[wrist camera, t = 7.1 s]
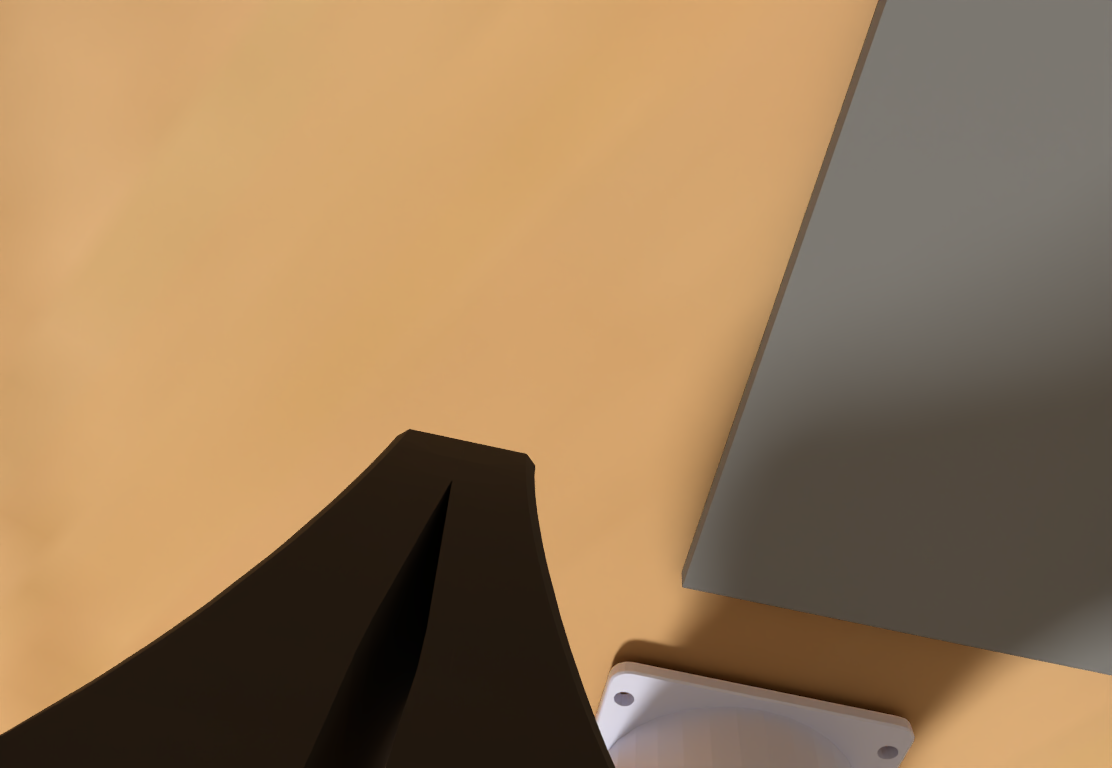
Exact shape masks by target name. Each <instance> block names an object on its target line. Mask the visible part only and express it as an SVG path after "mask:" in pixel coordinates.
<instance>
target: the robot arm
mask: <svg viewBox="0 0 1112 768" xmlns="http://www.w3.org/2000/svg"><path fill="white" fill-rule="evenodd" d="M534 474H535V465H534V463H533V462H532V461H531V459H530V458H529V456H528V455H527V454H524V453H520V452H515V451H510V450H505V449H501V448H496V447H491V446H487V445H482V444H477V443H472V442H468V441H463V440H458V439H454V438H449V437H444V436H440V435H435V434H430V433H425V432H421V431H416V430H411V429H409V430H407V431H405V432H404V433H402V434H400V435H398V436H397V437H396V438H395V439H394V440H393V441H392V442H391V444H390V445H389V446H388V447H387V448H386V449H385V450H384V451H383V452H382V453H381V454H380V455H379V456H378V457H377V458H376V459H375V460H374V462H373V463H372V464H371V465H370V466H369V467H368V468H367V469H366V470H365V471H364V472H363V473H361V474H360V475H359V476H358V477H357V478H356V479H355V480H354V481H353V482H352V483H351V484H350V485H349V486H348V487H347V488H346V489H345V490H344V491H343V492H342V493H340V494H339V495H338V496H337V497H336V498H335V499H334V500H333V501H332V502H331V503H330V504H329V505H327V506H326V507H325V508H324V509H323V510H322V511H321V512H319V513H318V514H317V515H316V516H315V517H314V518H312V519H311V520H310V521H309V522H308V523H307V524H306V525H304V526H303V527H302V528H301V529H300V530H299V531H298V532H296V533H295V534H294V535H293V536H292V537H291V538H290V539H288V540H287V541H286V542H285V543H284V544H283V545H281V546H280V547H279V548H278V549H277V550H275V551H274V552H273V553H272V554H270V555H269V556H268V557H267V558H265V559H264V560H263V561H261V562H260V563H259V564H258V565H256V566H255V567H254V568H252V569H251V570H250V571H248V572H247V573H246V574H245V575H243V576H242V577H241V578H239V579H238V580H237V581H235V582H234V583H233V584H232V585H230V586H229V587H228V588H226V589H225V590H224V591H223V592H221V593H220V594H219V595H217V596H216V597H215V598H213V599H212V600H211V601H210V602H208V603H207V604H206V605H204V606H203V607H201V608H200V609H199V610H197V611H196V612H195V613H193V614H192V615H190V616H189V617H187V618H186V619H185V620H183V621H182V622H180V623H179V624H178V625H176V626H175V627H173V628H172V629H170V630H169V631H168V632H166V633H165V634H163V635H162V636H160V637H159V638H157V639H156V640H154V641H153V642H151V643H150V644H148V645H147V646H145V647H144V648H142V649H141V650H139V651H138V652H136V653H135V654H133V655H132V656H130V657H128V658H127V659H125V660H124V661H122V662H121V663H119V664H118V665H116V666H115V667H113V668H112V669H110V670H108V671H107V672H105V673H104V674H102V675H101V676H99V677H97V678H96V679H94V680H93V681H91V682H89V683H88V684H86V685H84V686H83V687H81V688H79V689H78V690H76V691H74V692H73V693H71V694H69V695H68V696H66V697H64V698H62V699H61V700H59V701H57V702H56V703H54V704H52V705H51V706H49V707H47V708H46V709H44V710H42V711H41V712H39V713H37V714H35V715H34V716H32V717H30V718H29V719H27V720H25V721H24V722H22V723H20V724H19V725H17V726H15V727H14V728H12V729H10V730H8V731H7V732H5V733H3V734H1V735H0V768H898V767H899V766H900V764H901V762H902V761H903V759H904V757H905V756H906V754H907V752H908V751H909V749H910V747H911V746H912V744H913V742H914V738H915V736H914V733H913V730H912V727H911V724H910V722H909V721H908V720H906V719H905V718H902V717H899V716H895V715H890V714H885V713H881V712H876V711H871V710H866V709H861V708H856V707H851V706H846V705H841V704H836V703H832V702H827V701H822V700H817V699H812V698H807V697H802V696H797V695H792V694H787V693H783V692H778V691H773V690H768V689H763V688H758V687H753V686H748V685H743V684H738V683H733V682H729V681H724V680H719V679H714V678H709V677H704V676H699V675H694V674H689V673H684V672H680V671H675V670H670V669H665V668H660V667H655V666H650V665H645V664H640V663H635V662H622V663H618V664H616V665H615V666H613V667H612V669H611V670H610V672H609V676H608V679H607V682H606V685H605V688H604V692H603V695H602V698H601V701H600V704H599V708H598V711H597V714H596V717H594V714H593V711H592V709H591V706H590V703H589V701H588V698H587V695H586V693H585V690H584V687H583V684H582V681H581V678H580V675H579V672H578V669H577V667H576V664H575V661H574V658H573V655H572V652H571V649H570V646H569V643H568V639H567V636H566V633H565V629H564V626H563V623H562V620H561V616H560V612H559V609H558V605H557V601H556V597H555V593H554V590H553V586H552V582H551V578H550V574H549V570H548V567H547V562H546V558H545V553H544V548H543V543H542V538H541V532H540V526H539V521H538V514H537V507H536V498H535V480H534ZM620 692H627V693H628V694H621V693H620Z"/></svg>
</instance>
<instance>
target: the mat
mask: <svg viewBox="0 0 1112 768" xmlns="http://www.w3.org/2000/svg"><path fill="white" fill-rule="evenodd" d="M682 587H684V588H689V589H694V590H698V591H703V592H708V593H713V594H718V595H723V596H728V597H732V598H737V599H742V600H747V601H752V602H757V603H762V604H767V605H771V606H776V607H781V608H786V609H791V610H796V611H801V612H805V613H810V614H815V615H820V616H825V617H830V618H835V619H840V620H844V621H849V622H854V623H859V624H864V625H869V626H874V627H879V628H883V629H888V630H893V631H898V632H903V633H908V634H913V635H917V636H922V637H927V638H932V639H937V640H942V641H947V642H952V643H956V644H961V645H966V646H971V647H976V648H981V649H986V650H991V651H995V652H1000V653H1005V654H1010V655H1015V656H1020V657H1025V658H1029V659H1034V660H1039V661H1044V662H1049V663H1054V664H1059V665H1064V666H1068V667H1073V668H1078V669H1083V670H1088V671H1093V672H1098V673H1103V674H1107V675H1112V0H879V1H878V4H877V7H876V10H875V13H874V16H873V19H872V22H871V25H870V27H869V30H868V33H867V36H866V39H865V42H864V45H863V48H862V51H861V54H860V56H859V59H858V62H857V65H856V68H855V71H854V74H853V77H852V80H851V83H850V85H849V88H848V91H847V94H846V97H845V100H844V103H843V106H842V109H841V112H840V115H839V117H838V120H837V123H836V126H835V129H834V132H833V135H832V138H831V141H830V144H829V146H828V149H827V152H826V155H825V158H824V161H823V164H822V167H821V170H820V173H819V175H818V178H817V181H816V184H815V187H814V190H813V193H812V196H811V199H810V202H809V205H808V207H807V210H806V213H805V216H804V219H803V222H802V225H801V228H800V231H799V234H798V236H797V239H796V242H795V245H794V248H793V251H792V254H791V257H790V260H789V263H788V265H787V268H786V271H785V274H784V277H783V280H782V283H781V286H780V289H779V292H778V294H777V297H776V300H775V303H774V306H773V309H772V312H771V315H770V318H769V321H768V324H767V326H766V329H765V332H764V335H763V338H762V341H761V344H760V347H759V350H758V353H757V355H756V358H755V361H754V364H753V367H752V370H751V373H750V376H749V379H748V382H747V384H746V387H745V390H744V393H743V396H742V399H741V402H740V405H739V408H738V411H737V414H736V416H735V419H734V422H733V425H732V428H731V431H730V434H729V437H728V440H727V443H726V445H725V448H724V451H723V454H722V457H721V460H720V463H719V466H718V469H717V472H716V474H715V477H714V480H713V483H712V486H711V489H710V492H709V495H708V498H707V501H706V504H705V506H704V509H703V512H702V515H701V518H700V521H699V524H698V527H697V530H696V533H695V535H694V538H693V541H692V544H691V547H690V550H689V553H688V556H687V559H686V562H685V564H684V567H683V570H682Z"/></svg>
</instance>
